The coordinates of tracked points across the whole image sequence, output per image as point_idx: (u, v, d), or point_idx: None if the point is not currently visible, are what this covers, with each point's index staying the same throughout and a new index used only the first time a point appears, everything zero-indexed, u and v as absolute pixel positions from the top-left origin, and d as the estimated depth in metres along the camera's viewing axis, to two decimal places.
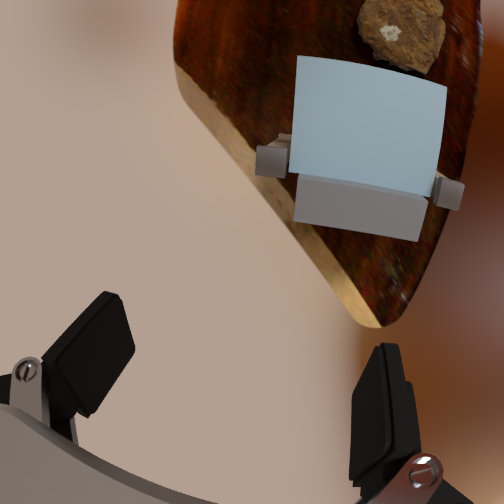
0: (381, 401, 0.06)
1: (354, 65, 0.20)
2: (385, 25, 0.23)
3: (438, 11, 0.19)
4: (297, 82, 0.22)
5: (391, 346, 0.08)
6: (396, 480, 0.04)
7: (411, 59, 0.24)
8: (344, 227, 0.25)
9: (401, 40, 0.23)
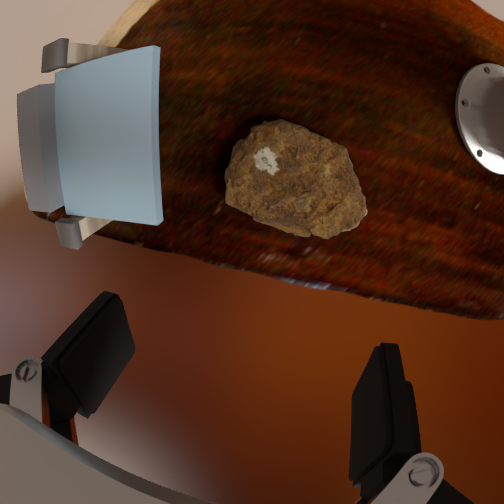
0: (381, 401, 0.06)
1: (148, 110, 0.18)
2: (274, 154, 0.26)
3: (317, 230, 0.28)
4: (124, 53, 0.16)
5: (391, 346, 0.08)
6: (396, 480, 0.04)
7: (236, 186, 0.29)
8: (19, 139, 0.19)
9: (258, 174, 0.27)
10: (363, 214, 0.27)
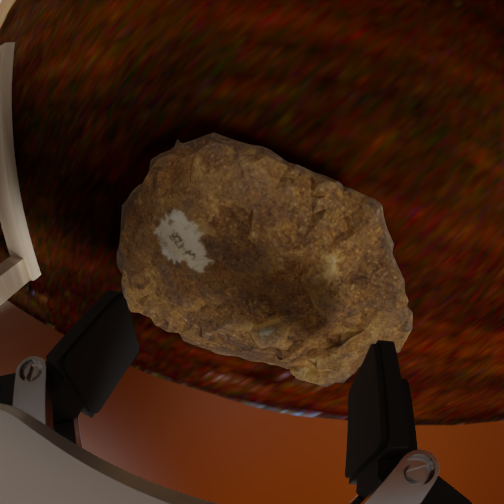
0: (376, 398, 0.07)
1: None
2: (197, 227, 0.11)
3: (304, 374, 0.13)
4: None
5: (387, 343, 0.08)
6: (391, 477, 0.04)
7: (137, 287, 0.13)
8: None
9: (169, 270, 0.12)
10: (403, 342, 0.12)
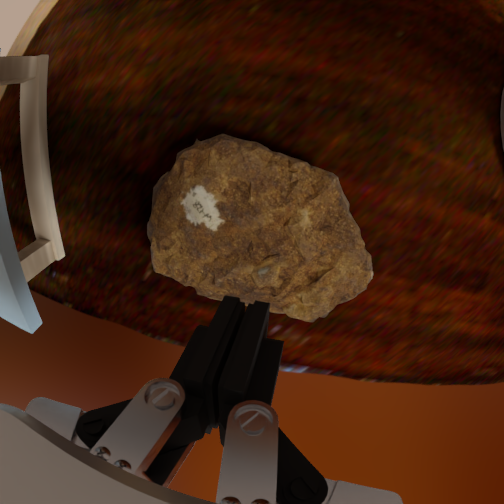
0: None
1: None
2: (213, 197, 0.16)
3: (294, 311, 0.18)
4: None
5: (261, 303, 0.10)
6: (230, 439, 0.06)
7: (164, 249, 0.18)
8: None
9: (191, 230, 0.17)
10: (368, 281, 0.17)
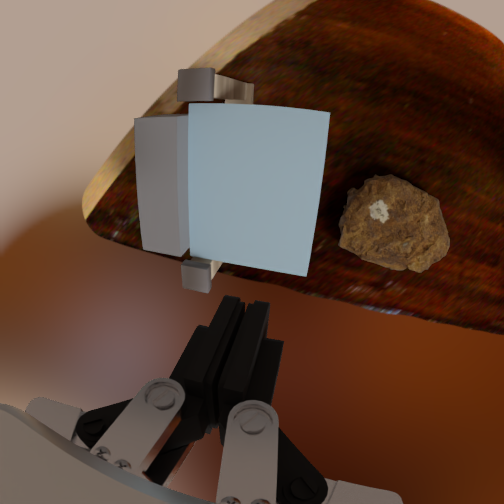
0: None
1: (319, 176, 0.21)
2: (386, 206, 0.29)
3: (413, 266, 0.31)
4: (294, 109, 0.19)
5: (261, 303, 0.10)
6: (230, 439, 0.06)
7: (352, 232, 0.32)
8: (137, 172, 0.22)
9: (372, 222, 0.30)
10: (446, 251, 0.30)
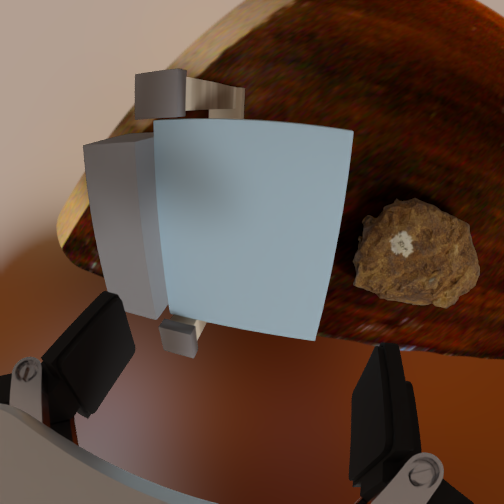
0: (381, 401, 0.06)
1: (336, 222, 0.15)
2: (411, 238, 0.23)
3: (439, 302, 0.25)
4: (302, 127, 0.14)
5: (391, 346, 0.08)
6: (396, 480, 0.04)
7: (369, 270, 0.26)
8: (93, 217, 0.17)
9: (393, 257, 0.25)
10: (476, 281, 0.24)
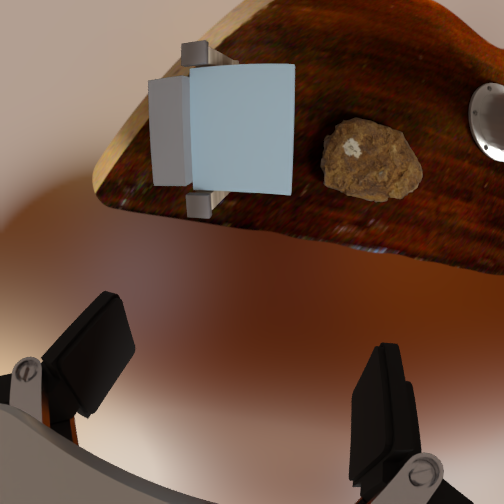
0: (381, 401, 0.06)
1: (291, 110, 0.26)
2: (357, 143, 0.34)
3: (393, 193, 0.36)
4: (268, 65, 0.25)
5: (391, 346, 0.08)
6: (396, 480, 0.04)
7: (332, 170, 0.37)
8: (150, 121, 0.28)
9: (347, 158, 0.35)
10: (421, 176, 0.34)
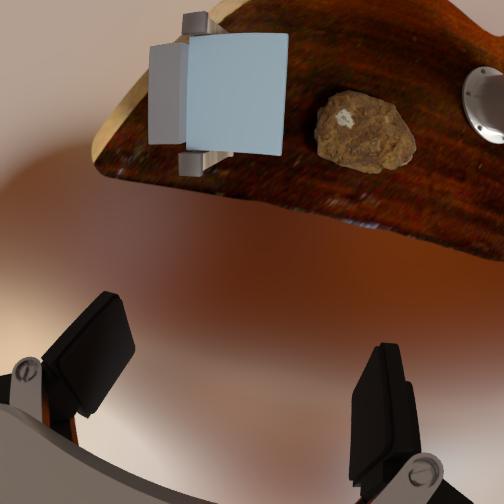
0: (381, 401, 0.06)
1: (283, 75, 0.26)
2: (349, 113, 0.34)
3: (387, 164, 0.35)
4: (262, 34, 0.24)
5: (391, 346, 0.08)
6: (396, 480, 0.04)
7: (326, 139, 0.36)
8: (149, 83, 0.27)
9: (340, 128, 0.35)
10: (414, 148, 0.34)
